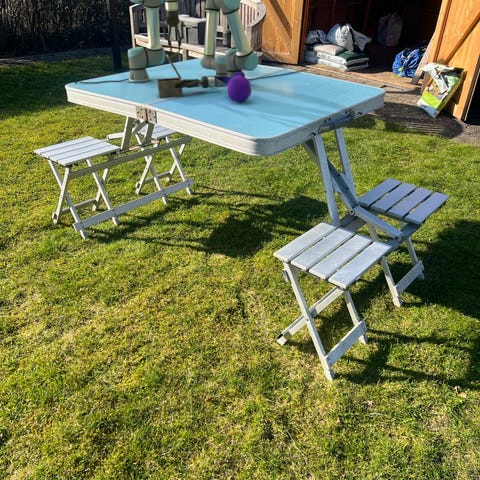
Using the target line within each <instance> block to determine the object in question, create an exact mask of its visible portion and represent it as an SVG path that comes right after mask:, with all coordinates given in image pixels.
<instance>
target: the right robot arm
mask: <svg viewBox="0 0 480 480" xmlns="http://www.w3.org/2000/svg"><path fill="white" fill-rule="evenodd" d="M241 1H242V0H205V5H204V11H205V13H206V14H205V15H206V16H205V31H204V45H203V56H202V57H201V58H200V60H199V65H200V67H201V68H203V69H206V70H212V71H215V75H203V76H201V77H200V79H198V78H182V79H181V82H182V83H179V84H175V88H182V89H184V88H185V89H193V88H202V89H208V88H209V89H214V88H227V86H228V85H227V84H226V83H224V82H222V81H220V80H218V79H216V78H215V77H217V76H224V77H234V74H235V73H238V72H243V71H247V72H253V71H255V70H256V69H257V68H258V65H259V60H260V59H259V55H258V54H257V53H256V52H254V50H253V47H252V46H250V44H249V41H248V37H247V35H246V32H245V28H244V25H243V22H242V19H241V15H240V12H239V11H240V8H241V7H240V6H241ZM220 13H222V15H223V16H225V18H226V21H227V24H228V27H229V30H230V33H231V36H232V40H233V43H234V45H235V48H233V49H227V50H225V53H224V55H216V48H217V35H218V34H217V33H218V24H219V23H218V21H219V14H220ZM303 71H306V72H308V70H307V68H304V69H301V70H295V71H291V72H286V73H280V74H274V75H267V76H260V77H255V78H247V79H248V80H249V81H254V80H259V79H260V80H261V79H267V78H273V77H280V76H286V75H292V74H295V73H301V72H303Z"/></svg>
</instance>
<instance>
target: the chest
mask: <svg viewBox="0 0 480 480" xmlns="http://www.w3.org/2000/svg"><path fill="white" fill-rule="evenodd" d="M181 80H182V79H181ZM181 80H180V78H179V77H166V78H156V86H157V95H158V97H159V99H163V98H175V97H176V98H177V97H178V98H179V97H183V95H184V94H183V88H175V84H179V83H182V82H181Z"/></svg>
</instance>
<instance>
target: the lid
mask: <svg viewBox="0 0 480 480" xmlns="http://www.w3.org/2000/svg"><path fill="white" fill-rule="evenodd" d="M180 55H181V52H179V51H178V50H176V52H175V53H173V54H171V55H170V56H169V55H168V54H167V53H165V58H166V59H167V60H168V62H169V64H170V66H171V67H172V69H173V70H174V72H175V74H176V76H177V78H180V80H183V78H182V76H181V75H180V73H179V72H178V70H177V68H176V66H175V64H174V63H173V61H172V59H174V58H176V57H177V56H180Z"/></svg>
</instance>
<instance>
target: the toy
mask: <svg viewBox="0 0 480 480" xmlns="http://www.w3.org/2000/svg"><path fill="white" fill-rule="evenodd" d="M215 78H216V79H218V80H220V81H222V82H224V83H226V84H227V85H228V86H227V87H226V91H227V96H228V98H229V99H230V100H231V101H232V102H235V103H245V102H246V101H247V100H248V99H250V97H251V95H252V84H251V82H250V80H248V79H249V78H247V77H246V75H245V72H243V71H242V72H238V73H235V74H234V77H224V76H217V77H215Z"/></svg>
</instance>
